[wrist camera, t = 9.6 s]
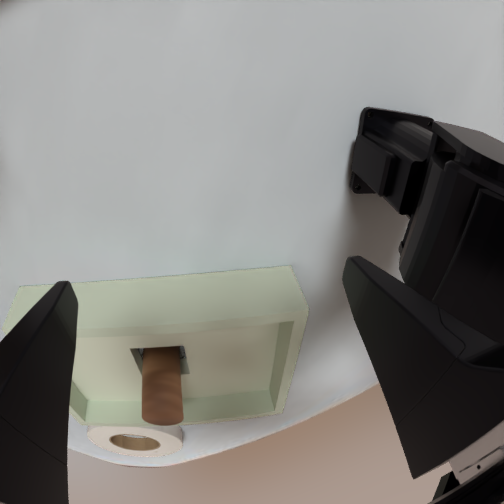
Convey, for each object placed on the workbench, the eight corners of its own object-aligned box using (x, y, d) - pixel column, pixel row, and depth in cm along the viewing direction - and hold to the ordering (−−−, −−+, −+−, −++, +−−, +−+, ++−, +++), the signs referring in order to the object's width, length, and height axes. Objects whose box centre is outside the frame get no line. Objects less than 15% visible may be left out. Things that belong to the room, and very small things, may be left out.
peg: (176, 332, 29) (180, 408, 23) (181, 354, 31) (186, 424, 25) (139, 335, 28) (136, 410, 22) (147, 356, 30) (147, 426, 24)
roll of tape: (72, 423, 40) (71, 438, 38) (121, 399, 36) (120, 418, 34) (144, 448, 49) (145, 461, 46) (201, 428, 45) (203, 444, 43)
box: (290, 265, 26) (309, 309, 22) (273, 378, 37) (282, 413, 33) (19, 286, 22) (1, 329, 18) (84, 390, 33) (81, 424, 29)
